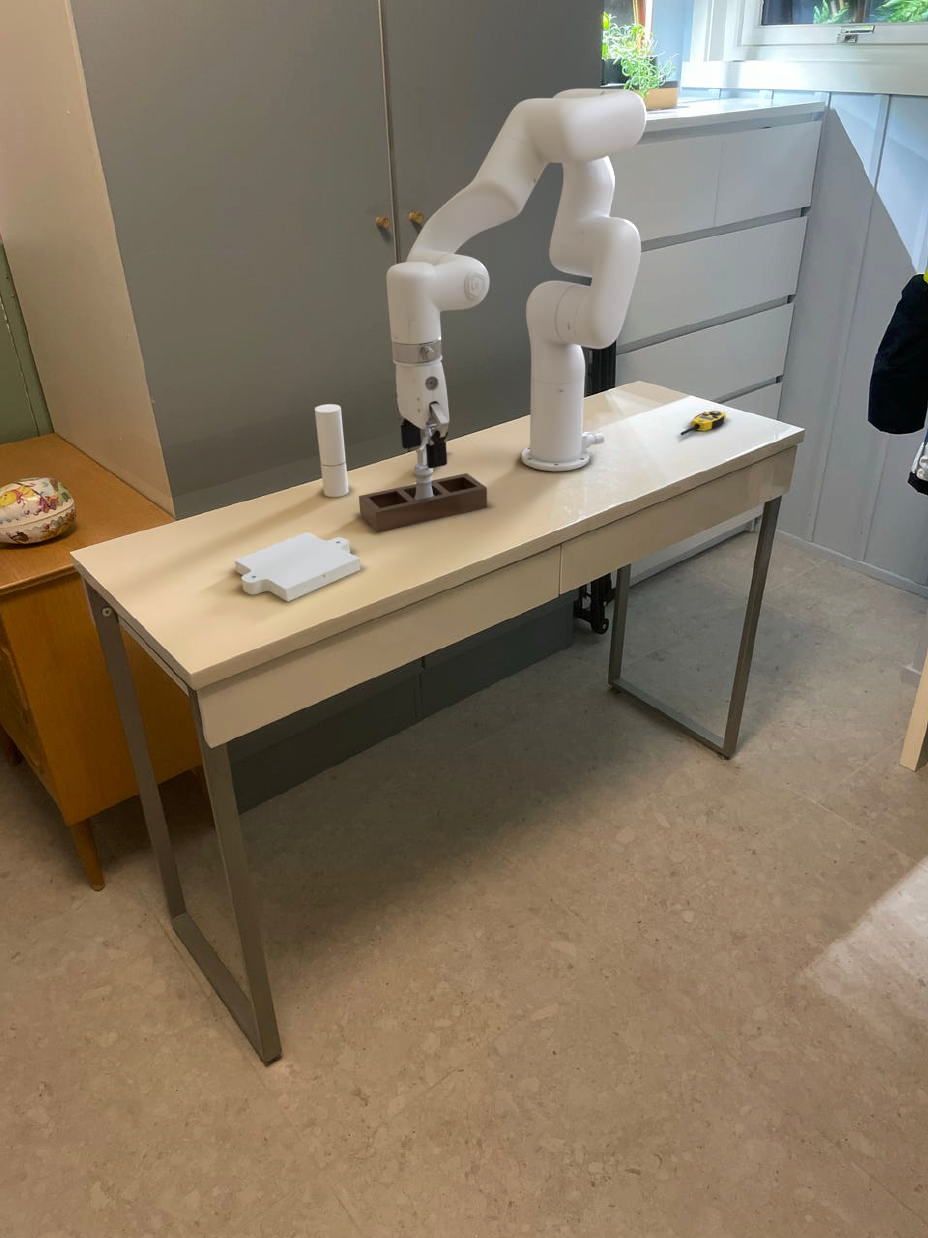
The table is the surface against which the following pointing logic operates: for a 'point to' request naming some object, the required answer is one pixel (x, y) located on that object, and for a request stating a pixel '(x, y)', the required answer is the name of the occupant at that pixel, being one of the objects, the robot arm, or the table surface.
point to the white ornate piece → (422, 453)
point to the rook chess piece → (423, 481)
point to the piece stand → (422, 502)
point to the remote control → (707, 421)
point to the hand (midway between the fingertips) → (424, 456)
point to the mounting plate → (296, 566)
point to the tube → (331, 450)
